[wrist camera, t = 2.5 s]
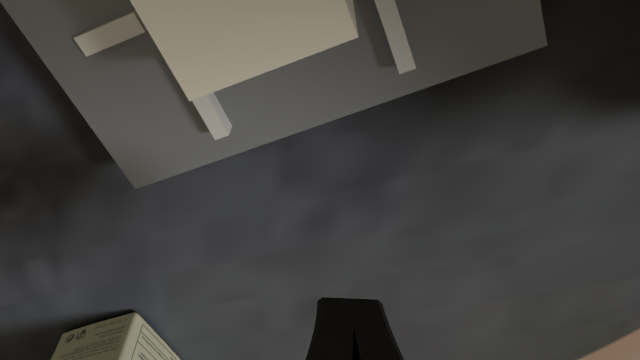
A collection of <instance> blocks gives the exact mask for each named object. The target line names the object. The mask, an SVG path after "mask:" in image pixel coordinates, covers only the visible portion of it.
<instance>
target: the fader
mask: <svg viewBox="0 0 640 360" xmlns="http://www.w3.org/2000/svg"><path fill="white" fill-rule="evenodd" d="M130 1H131V3H132V5H133V6H134V8H135V10H136V12H137V13H138V15H139V17H140V18H141V20H142V22H143V23H144V25H145V27H146V29H147V30H148V32H149V34H150V35H151V37H152V39H153V40H154V42H155V44H156V46H157V47H158V49H159V51H160V52H161V54H162V56H163V57H164V59H165V61H166V63H167V64H168V66H169V68H170V69H171V71H172V73H173V74H174V76H175V78H176V80H177V81H178V83H179V85H180V86H181V88H182V90H183V91H184V93H185V95H186V97H187V98H188V100H189V101H192V100H195V99H197V98H200V97H202V96H205V95H208V94H210V93H213V92H216V91H218V90H221V89H224V88H226V87H229V86H231V85H234V84H237V83H239V82H242V81H245V80H247V79H250V78H253V77H255V76H258V75H261V74H263V73H266V72H268V71H271V70H274V69H276V68H279V67H282V66H284V65H287V64H290V63H292V62H295V61H297V60H300V59H303V58H305V57H308V56H311V55H313V54H316V53H319V52H321V51H324V50H326V49H329V48H332V47H334V46H337V45H340V44H342V43H345V42H348V41H350V40H353V39H355V38H358V31H357V24H356V17H355V11H354V4H353V0H130Z"/></svg>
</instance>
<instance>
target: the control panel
mask: <svg viewBox="0 0 640 360" xmlns="http://www.w3.org/2000/svg"><path fill="white" fill-rule="evenodd" d="M0 3H1V4H2V5H3V7H4V8H5V9H6V11H7V12H8V14H9V15H10V16H11V18H12V19H13V21H14V22H15V23H16V25H17V26H18V27H19V29H20V30H21V32H22V33H23V34H24V36H25V37H26V39H27V40H28V41H29V43H30V44H31V45H32V47H33V48H34V50H35V51H36V52H37V54H38V55H39V57H40V58H41V59H42V61H43V62H44V63H45V65H46V66H47V68H48V69H49V70H50V72H51V73H52V75H53V76H54V77H55V79H56V80H57V81H58V83H59V84H60V86H61V87H62V88H63V90H64V91H65V93H66V94H67V95H68V97H69V98H70V99H71V101H72V102H73V104H74V105H75V106H76V108H77V109H78V111H79V112H80V113H81V115H82V116H83V117H84V119H85V120H86V122H87V123H88V124H89V126H90V127H91V129H92V130H93V131H94V133H95V134H96V135H97V137H98V138H99V140H100V141H101V142H102V144H103V145H104V147H105V148H106V149H107V151H108V152H109V153H110V155H111V156H112V158H113V159H114V160H115V162H116V163H117V165H118V166H119V167H120V169H121V170H122V171H123V173H124V174H125V176H126V177H127V178H128V180H129V181H130V183H131V184H132V185H133V187H134V188H135V189H137V188H140V187H143V186H146V185H149V184H152V183H155V182H158V181H160V180H163V179H166V178H169V177H172V176H175V175H178V174H181V173H183V172H186V171H189V170H192V169H195V168H198V167H201V166H203V165H206V164H209V163H212V162H215V161H218V160H221V159H224V158H226V157H229V156H232V155H235V154H238V153H241V152H244V151H247V150H249V149H252V148H255V147H258V146H261V145H264V144H267V143H270V142H272V141H275V140H278V139H281V138H284V137H287V136H290V135H293V134H295V133H298V132H301V131H304V130H307V129H310V128H313V127H315V126H318V125H321V124H324V123H327V122H330V121H333V120H336V119H338V118H341V117H344V116H347V115H350V114H353V113H356V112H359V111H361V110H364V109H367V108H370V107H373V106H376V105H379V104H382V103H384V102H387V101H390V100H393V99H396V98H399V97H402V96H404V95H407V94H410V93H413V92H416V91H419V90H422V89H425V88H427V87H430V86H433V85H436V84H439V83H442V82H445V81H448V80H450V79H453V78H456V77H459V76H462V75H465V74H468V73H471V72H473V71H476V70H479V69H482V68H485V67H488V66H491V65H493V64H496V63H499V62H502V61H505V60H508V59H511V58H514V57H516V56H519V55H522V54H525V53H528V52H531V51H534V50H537V49H539V48H542V47H545V46H548V45H547V39H546V33H545V27H544V21H543V15H542V9H541V3H540V0H353V4H354V11H355V17H356V24H357V31H358V38H355V39H353V40H350V41H348V42H345V43H342V44H340V45H337V46H334V47H332V48H329V49H326V50H324V51H321V52H319V53H316V54H313V55H311V56H308V57H305V58H303V59H300V60H297V61H295V62H292V63H290V64H287V65H284V66H282V67H279V68H276V69H274V70H271V71H268V72H266V73H263V74H261V75H258V76H255V77H253V78H250V79H247V80H245V81H242V82H239V83H237V84H234V85H231V86H229V87H226V88H224V89H221V90H218V91H216V92H213V93H210V94H208V95H205V96H202V97H200V98H197V99H195V100H192V101H189V100H188V98H187V97H186V95H185V93H184V91H183V90H182V88H181V86H180V85H179V83H178V81H177V80H176V78H175V76H174V74H173V73H172V71H171V69H170V68H169V66H168V64H167V63H166V61H165V59H164V57H163V56H162V54H161V52H160V51H159V49H158V47H157V46H156V44H155V42H154V40H153V39H152V37H151V35H150V34H149V32H148V30H147V29H146V27H145V25H144V23H143V22H142V20H141V18H140V17H139V15H138V13H137V12H136V10H135V8H134V6H133V5H132V3H131V1H130V0H0Z"/></svg>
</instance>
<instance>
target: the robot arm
mask: <svg viewBox="0 0 640 360" xmlns="http://www.w3.org/2000/svg"><path fill="white" fill-rule="evenodd" d="M306 360H404V359H403V357H402V354H401V352H400V350H399V348H398V345H397V343H396V341H395V338H394V336H393V333H392V331H391V328H390V326H389V323H388V320H387V317H386V315H385V312H384V308H383V305H382V303H381V302H380V301H379V300H370V299H347V298H324V297H323V298H321V299H320V300H318V302H317V315H316V322H315V327H314V332H313V336H312V340H311V344H310V347H309V351H308V354H307V357H306Z"/></svg>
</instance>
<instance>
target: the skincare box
mask: <svg viewBox="0 0 640 360" xmlns="http://www.w3.org/2000/svg"><path fill="white" fill-rule="evenodd" d="M51 360H180V359H179V357H178V356H177V355H176V354H175V353H174V352H173V351H172V350H171V349H170V348H169V346H168V345H167V344H166V343H165V342H164V341H163V340H162V339H161V338H160V337H159V335H157V334H156V332H155V331H154V330H153V329H152V328H151V327H150V326H149V325H148V324H147V323H146V322H145V321H144V320H143V319H142V318H141V316H140V315H138V314H137V313H130V314H127V315H123V316H119V317H116V318H112V319H108V320H105V321H101V322H97V323H94V324H91V325H87V326H85V327H81V328H78V329H75V330H72V331H69V332H66V333H64V334H63V335H62V337H61V339H60V341H59V343H58V345H57V348H56V350H55V352H54V354H53V356H52V358H51Z"/></svg>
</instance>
